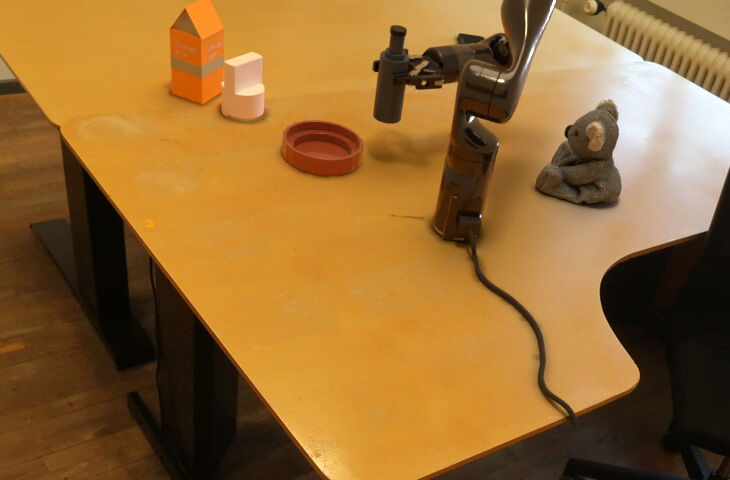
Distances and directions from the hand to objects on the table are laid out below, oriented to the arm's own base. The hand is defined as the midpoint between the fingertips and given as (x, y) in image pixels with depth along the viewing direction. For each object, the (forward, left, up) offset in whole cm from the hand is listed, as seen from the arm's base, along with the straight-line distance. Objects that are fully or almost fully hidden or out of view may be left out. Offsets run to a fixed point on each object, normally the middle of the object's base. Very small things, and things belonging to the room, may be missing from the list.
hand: (382, 73), depth 165 cm
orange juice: (+23, +37, -20) cm, 48 cm away
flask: (+1, -2, -10) cm, 10 cm away
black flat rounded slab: (+69, -33, -19) cm, 79 cm away
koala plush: (-3, -47, -20) cm, 51 cm away
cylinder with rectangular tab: (+16, +27, -20) cm, 38 cm away
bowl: (-1, +10, -20) cm, 22 cm away
